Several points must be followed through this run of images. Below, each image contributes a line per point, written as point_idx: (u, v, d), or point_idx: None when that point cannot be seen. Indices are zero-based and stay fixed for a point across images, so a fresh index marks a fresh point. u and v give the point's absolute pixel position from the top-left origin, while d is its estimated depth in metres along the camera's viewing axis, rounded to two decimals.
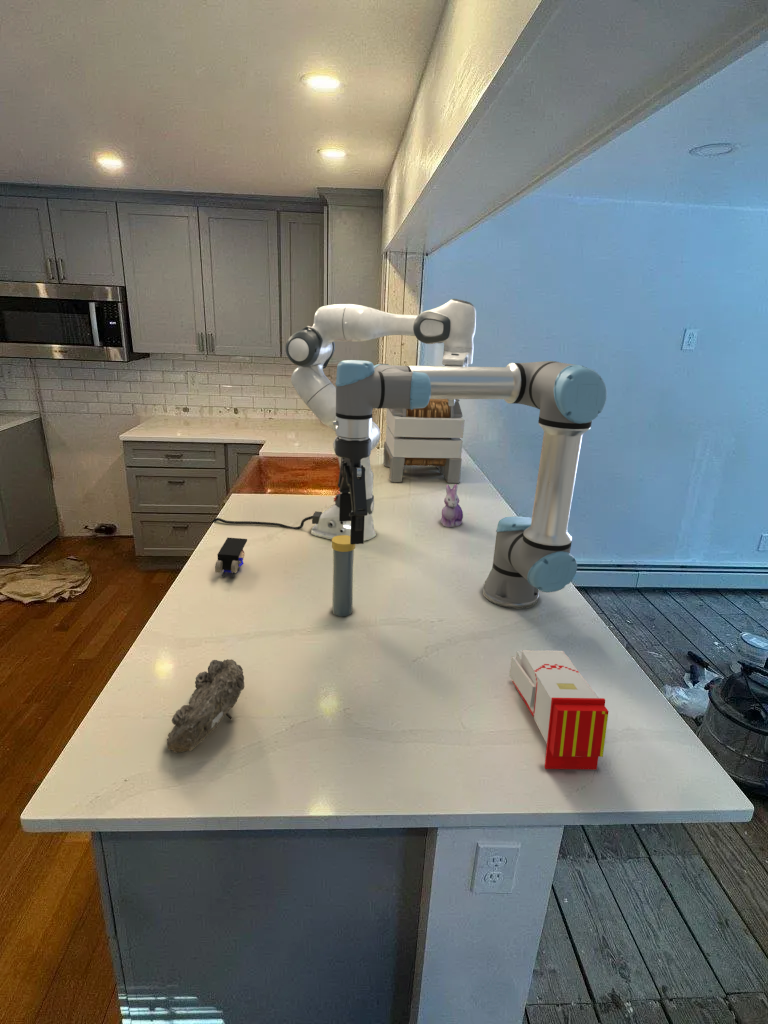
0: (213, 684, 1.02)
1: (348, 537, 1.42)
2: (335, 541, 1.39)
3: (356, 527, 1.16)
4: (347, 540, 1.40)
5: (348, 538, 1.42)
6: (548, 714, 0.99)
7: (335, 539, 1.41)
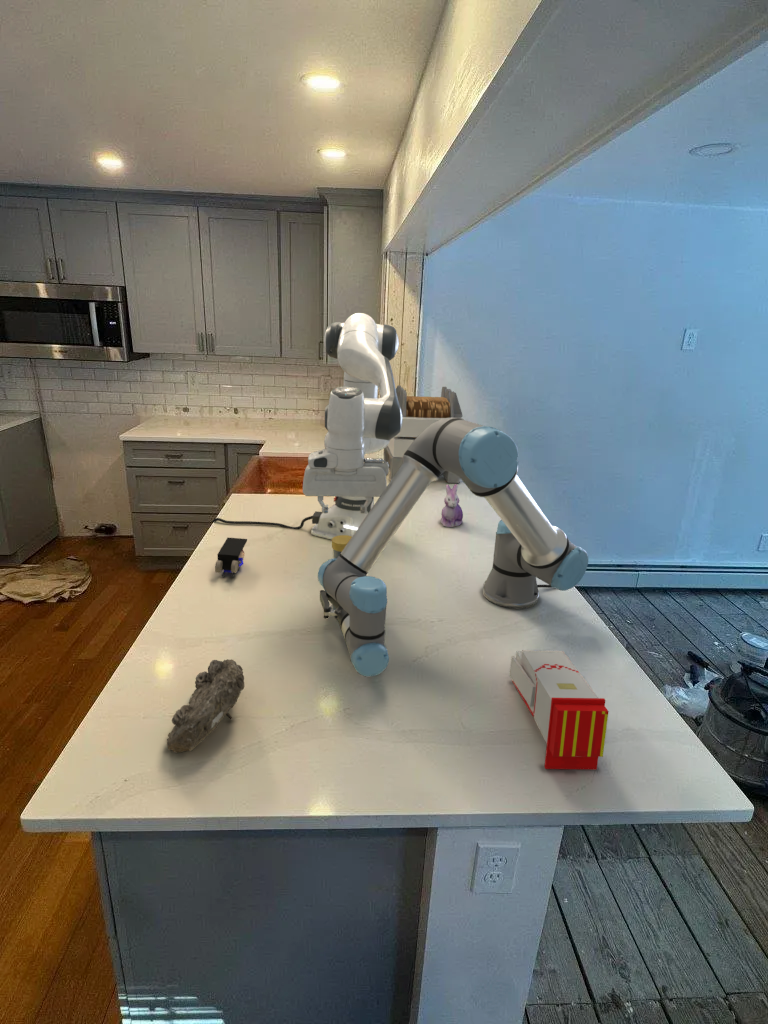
0: (213, 684, 1.02)
1: (348, 537, 1.42)
2: (335, 541, 1.39)
3: None
4: (347, 540, 1.40)
5: (348, 538, 1.42)
6: (548, 714, 0.99)
7: (335, 539, 1.41)
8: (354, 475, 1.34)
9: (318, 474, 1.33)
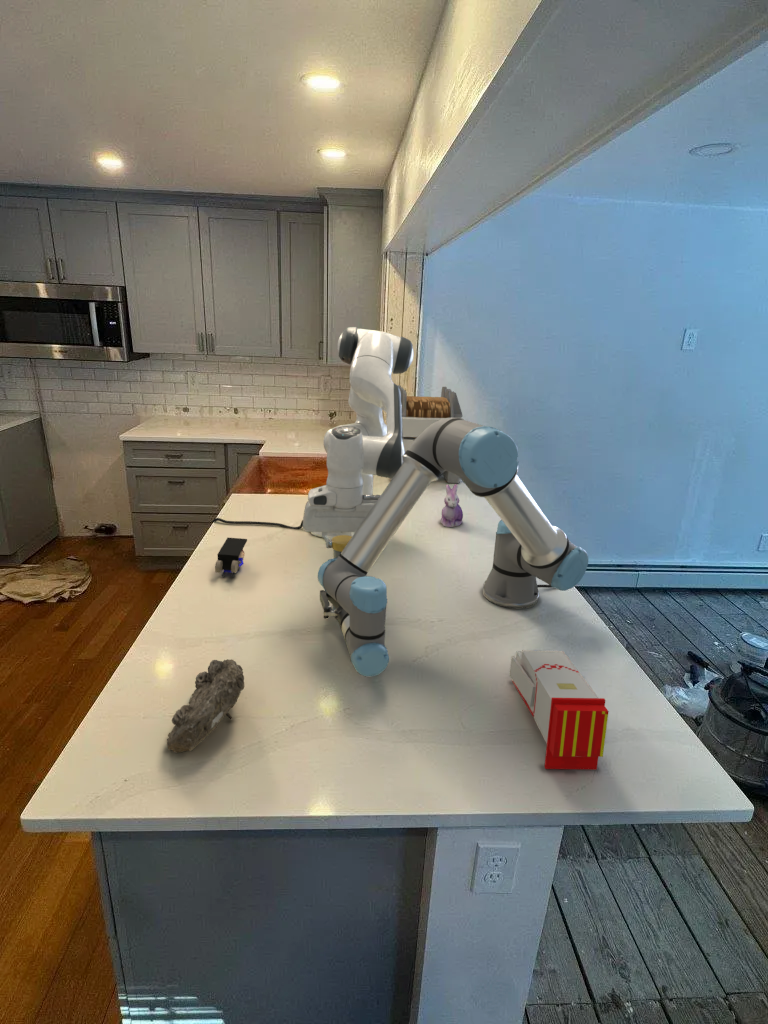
0: (213, 684, 1.02)
1: (348, 537, 1.42)
2: (335, 541, 1.39)
3: None
4: (347, 540, 1.40)
5: (348, 538, 1.42)
6: (548, 714, 0.99)
7: (335, 539, 1.41)
8: (353, 511, 1.37)
9: (318, 511, 1.36)
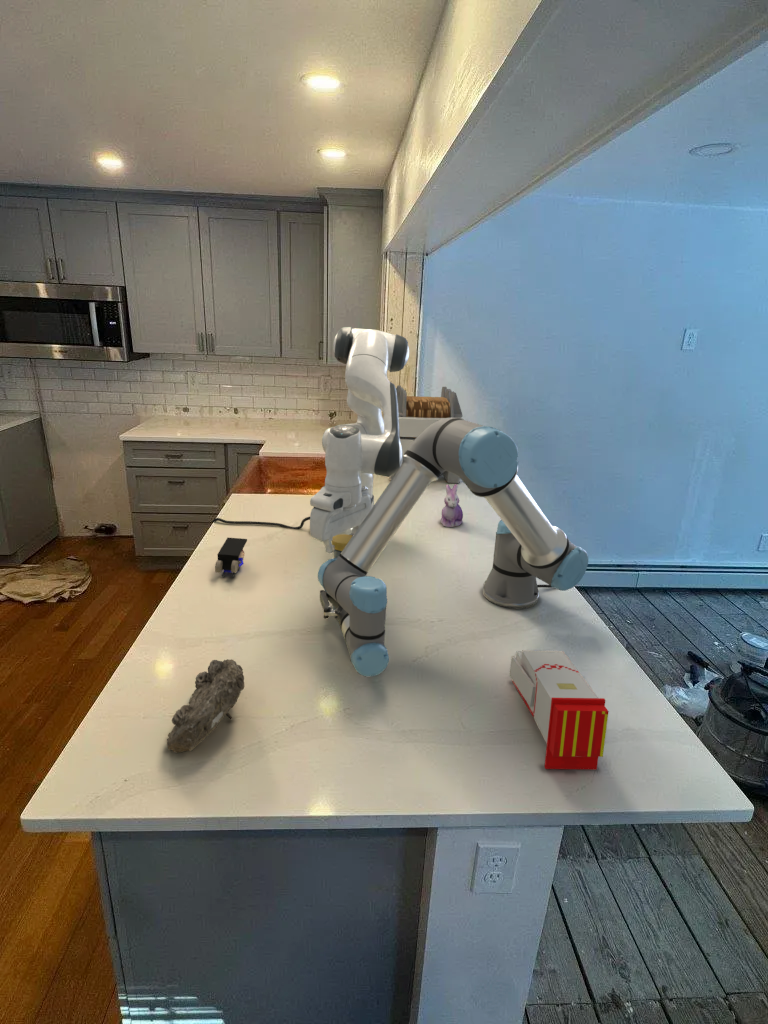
0: (213, 684, 1.02)
1: (340, 536, 1.42)
2: (346, 542, 1.39)
3: None
4: (347, 537, 1.41)
5: (342, 536, 1.42)
6: (548, 714, 0.99)
7: (341, 541, 1.39)
8: None
9: (331, 516, 1.32)
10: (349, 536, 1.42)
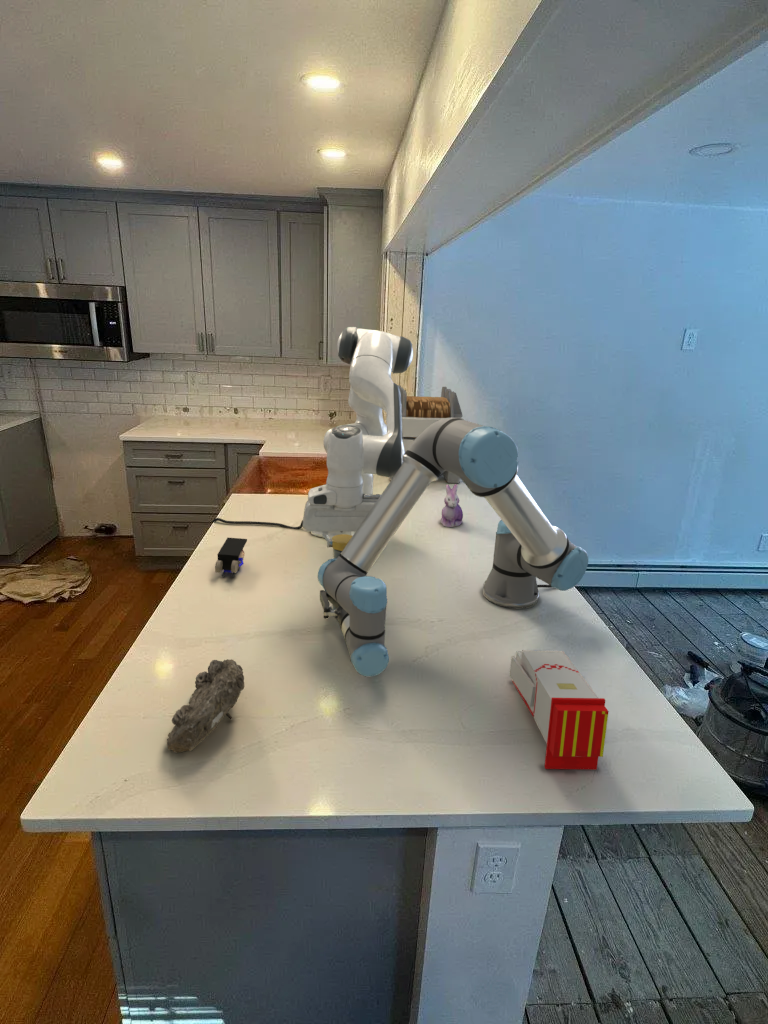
0: (213, 684, 1.02)
1: (339, 536, 1.42)
2: (346, 542, 1.39)
3: None
4: (347, 537, 1.42)
5: (342, 536, 1.42)
6: (548, 714, 0.99)
7: (341, 541, 1.39)
8: (353, 511, 1.37)
9: (318, 510, 1.36)
10: (349, 536, 1.42)
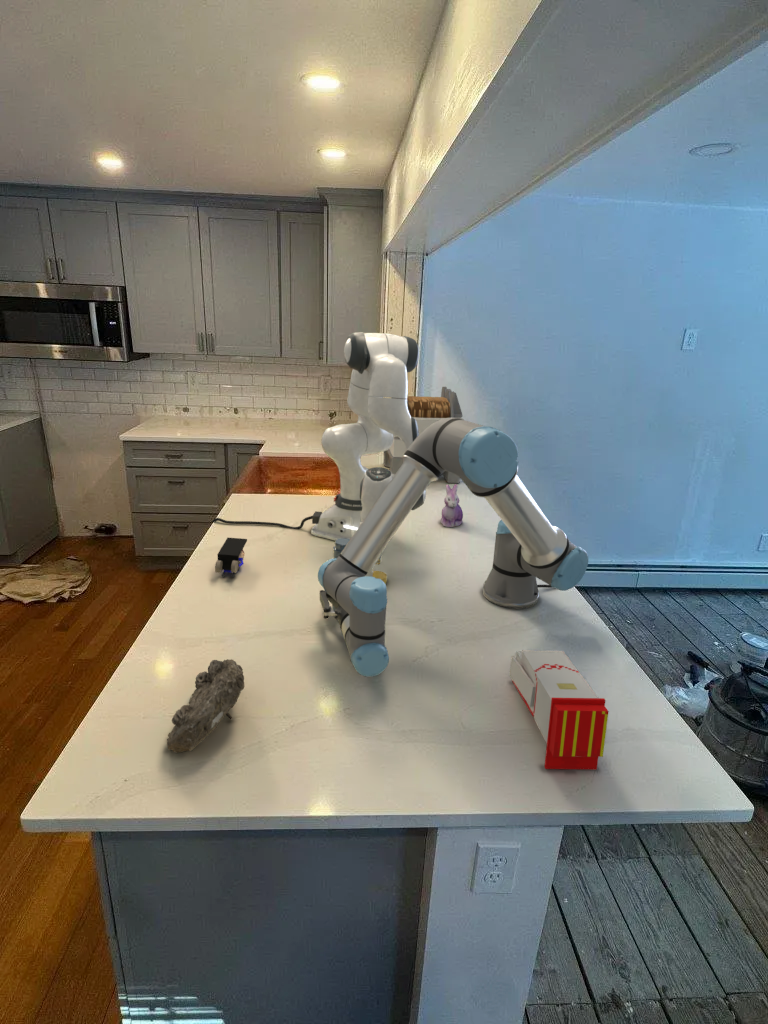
0: (213, 684, 1.02)
1: None
2: (385, 575, 1.64)
3: None
4: (375, 573, 1.65)
5: None
6: (548, 714, 0.99)
7: (382, 576, 1.63)
8: None
9: None
10: None
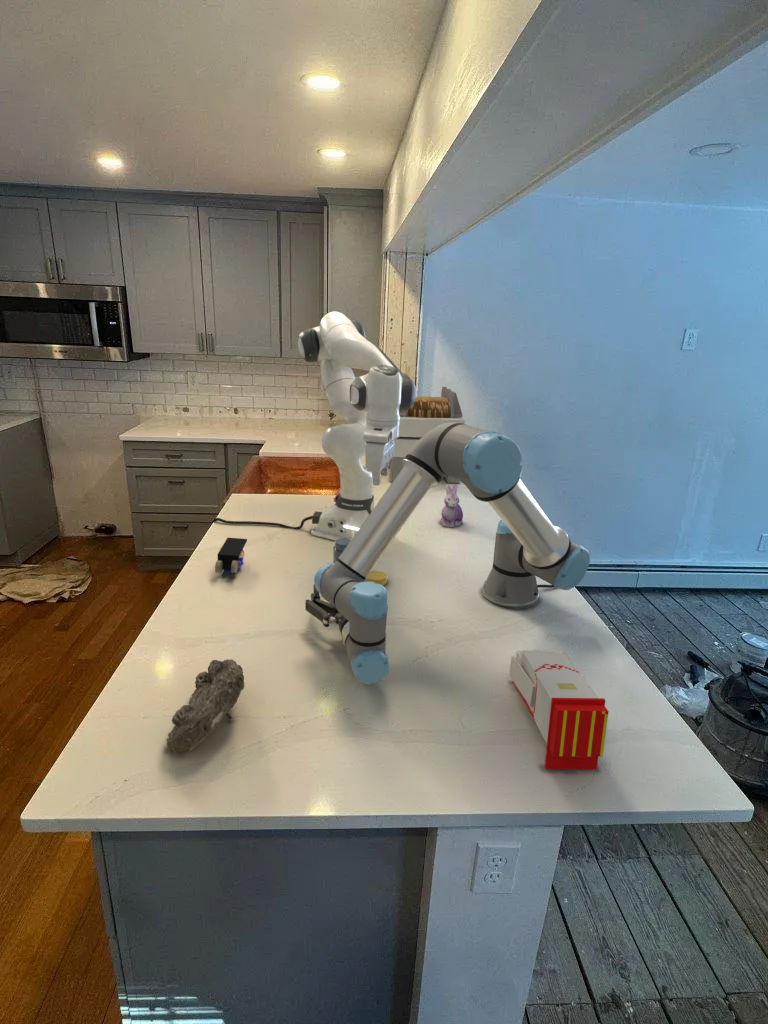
0: (213, 684, 1.02)
1: (370, 576, 1.63)
2: (385, 575, 1.64)
3: None
4: (375, 573, 1.65)
5: (371, 575, 1.64)
6: (548, 714, 0.99)
7: (382, 576, 1.63)
8: None
9: None
10: (372, 572, 1.65)
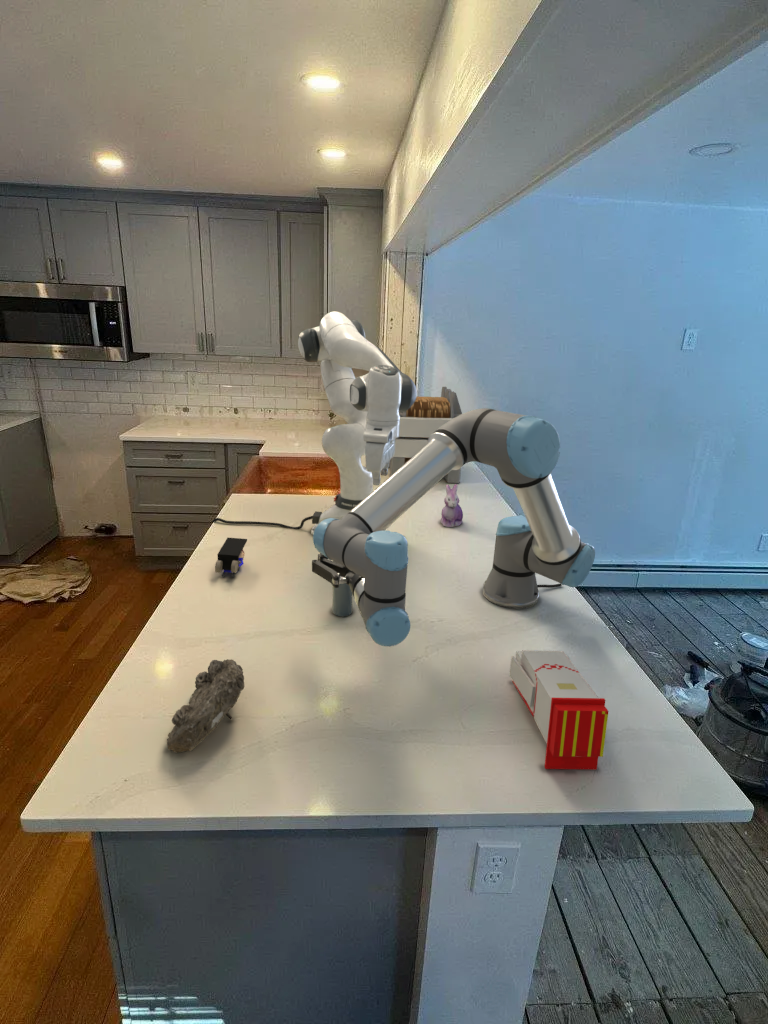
0: (213, 684, 1.02)
1: None
2: None
3: None
4: None
5: None
6: (548, 714, 0.99)
7: None
8: None
9: None
10: None
